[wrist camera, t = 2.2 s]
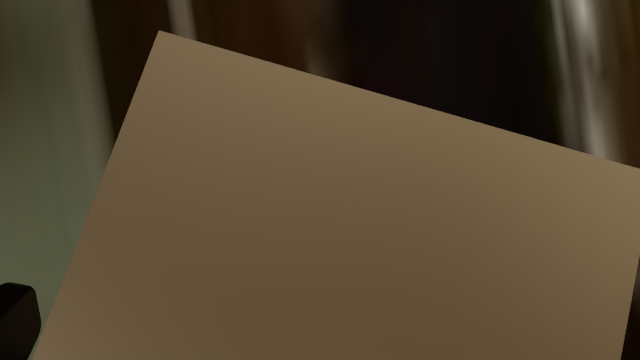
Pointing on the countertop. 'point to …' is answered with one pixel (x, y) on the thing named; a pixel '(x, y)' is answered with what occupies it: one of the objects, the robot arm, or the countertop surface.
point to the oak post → (338, 229)
